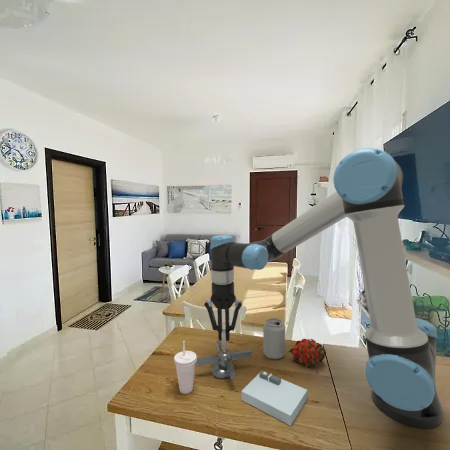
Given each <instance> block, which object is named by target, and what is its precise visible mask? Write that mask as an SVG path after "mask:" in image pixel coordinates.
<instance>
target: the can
mask: <svg viewBox="0 0 450 450" xmlns="http://www.w3.org/2000/svg"><path fill="white" fill-rule="evenodd" d="M264 321H265V322H264V323H263V327H262V329H263V332H262V333H263V337H262V338H263V339H262V340H263V341H262V342H263V345H262V346H263V353H264V355H265V357H267V358H268V359H271V360H280V359H282V358H283V357H284V356H285V355H286V325H285V324H284V321H283V320H282V319H280V318H277V317H272V318H271V317H270V318H267V319H266V320H264Z"/></svg>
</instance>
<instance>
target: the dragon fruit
mask: <svg viewBox="0 0 450 450" xmlns="http://www.w3.org/2000/svg"><path fill="white" fill-rule="evenodd" d="M290 353H291V355H292V359H293V360H295V361H296V362H299V363H305V366H306V367H310V366H312V365H313V366H314V365H315V366H316V365H317V364H318V363H319V364H322V363H324V362H323V361H324V359H325V357H326V354H327V352H326V349H325V348H324V346H322V345H321V344H320V343H319V342H317V341H316V340H314V339H313V338H308V339H307V338H302V339H301V340H297V341H296V343H295V344H294V345H293V346H292V347H291V348H290V349H289V350H288V354H290Z"/></svg>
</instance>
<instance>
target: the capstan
mask: <svg viewBox="0 0 450 450" xmlns="http://www.w3.org/2000/svg"><path fill="white" fill-rule="evenodd" d="M215 345H216V349H217V351H218V352H217V354H215V355H209V356H203V357H200V358H197V360H196V362H195V367H200V366H201V367H202V366H207V365H211V367H210V372H211V376H213V377H214V378H217V379H220V380H222V379H228V378H230V379H236V370H235V367H234V364H233V363H232V361H235V360H236V361H237V360H242V359H248V358H252V357H253V351H252V349H245V350H241V351H240V350H239V351H233V352H232V351H230V349H227V348H226V349H225V348H224V346H222V342H221V341H219V340H215Z"/></svg>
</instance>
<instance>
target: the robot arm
mask: <svg viewBox="0 0 450 450" xmlns="http://www.w3.org/2000/svg"><path fill="white" fill-rule="evenodd" d="M403 182H404V173H403V169H402V167H401V166H400V164H399V163H398V162H397V161H396V160H395V159H394V157H393V156H391V154H389V153H388V152H386V151H384V150H383V149H380V148H379V149H378V148H374V147H373V148H372V147H364V148H359V149H355V150H353V151H352V152H350V153H347V154H346V155H345V156H344V157H342V159H341V160H340V161H339V163H338V164H337V166H336V167H335V170H334V174H333V186H334V189H335V192H333V193H332V194H330V195H329V196H327V197H326V198H325V199H323V200H321V201H320V202H318V203H317V204H316V205H314V206H312V207H311V208H310V209H307V210H306V211H305V212H303V213H302V214H300V215H298V216H297V217H296V218H294V219H293V220H291V221H290V222H288V223H287V224H285V225H284V226H282V227H281V228H280V229H278V230H277V231H275V232H273V233H272V234H271V235H269V236H267V237H266V238H265V239H262V240H258V241H252V242H248V243H243V242H235V241H234V236H233V235H229V234H220V235H219V234H218V235H217V234H216V235H213V236H212V237H211V238H210V263H211V265H210V269H211V270H210V271H211V272H210V275H211V278H210V279H211V296H210V298H209V299H208V300H205V301H204V304H203V305H204V307H205V308H206V310H207V312H208V317H209V320H210V323H211V328H212V330H213V331H217V332H218V333H217V334H218V336H217V337H218V341H220V342H221V345H222V346H224V348H225V349H227V347H228V345H227V342H229V341H230V339H231V338H230V335H231V334H230V332H231V331H232V332H234V330H235V328H236V324H237V319H238V316H239V313H240V312H239V311H240V309H241V308H242V306H243V301H242V300H239V299H237V298H236V294H235V282H234V281H235V269H234V267H237V268H243V269H246V270H247V269H248V270H252V271H254V270H257V271H260V270H263V269H265V267H266V266H267V265H268V263H269V262H274V261H277V260H278V259H279V258H281V257H282V256H283V255H284V254H286V253H287V252H289V251H291V250H292V249H294V248H296V247H298V246H299V245H301V244H302V243H304V242H306V241H308V240H309V239H311V238H313V237H315V236H317V235H319V233H321V232H323V231H326V230H327V229H328V228H330V227H331V226H333V225H335V224H336V223H338V222H340V221H342V220H344V219H345V218H348V219H350V220H351V221H352V223H353V226H354V227H353V228H354V233H355V238H356V245H357V250H358V257H359V263H360V267H361V274H362V279H363V286H364V287H363V288H364V291H365V299H366V304H367V311H368V317H369V321H370V326H369V327H368V328H367V329H366V330H365V332H364V335H365V342H366V343H365V344H366V350H367V355H368V360H367V362H366V364H365V378H366V381H367V383H368V385H369V387H370V388H371V400H372V401H373V403H374V404H375V405H376V407H377V408H378V409H379V410H380V411H381V412H383V414H385V415H387V416H388V417H389V418H392V419H393V420H395V421H397V422H399V423H402V424H403V425H407V426H410V427H413V428H418V429H432V428H436V427H438V426H440V425H441V423H442V420H443V407H442V405H441V402H440V398H439V395H438V392H437V388H436V368H437V367H436V361H437V360H436V359H437V358H436V356H437V339H438V335H437V334H438V332H437V331H438V330H437V327H436V326H435V325H434V324H433V323H431V322H429V321H427V320H424V319H421V318H418V317H416V314H415V313H416V311H415V307H414V302H413V297H412V291H411V284H410V280H409V274H408V267H407V262H406V257H405V250H404V246H403V239H402V234H401V230H400V229H401V228H400V221H399V214H400V212H401V211H402V210H403V209H404V208H405V202H404V196H403V190H402V186H403ZM233 304H234V312H233V315H232V316H233V317H232V321H231V323H230V309H231V307H232V306H233ZM212 305H214V307H215V308H216V309H217V310H216V311H217V320H216V317H215V313H214V309H213V306H212ZM223 310H224V317H225V318H224V319H225V321H224V322H225V324H224V326H225V328H223Z"/></svg>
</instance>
